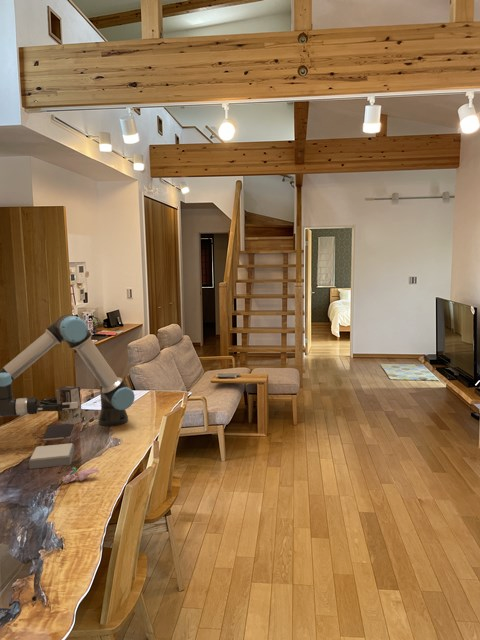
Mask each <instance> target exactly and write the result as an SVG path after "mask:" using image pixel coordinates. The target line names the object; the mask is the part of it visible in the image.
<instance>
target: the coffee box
mask: <svg viewBox="0 0 480 640" xmlns="http://www.w3.org/2000/svg"><path fill="white" fill-rule="evenodd" d="M55 394H56V395H55V396H56V397H57V404H62V403H70V402H78V408H73V409H62V411H61V412H60V411H57V418H58V420H57V421H58V423H59V424H74V425H75V424H78V423H80V422H82V421H83V415H82V414H83V413H82V412H83V411H82V401H81V400H82V399H81V387H80V386H75V385H74V386H72V385H71V386H69V385H64V386H60V387H58V388H56V389H55Z"/></svg>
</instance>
